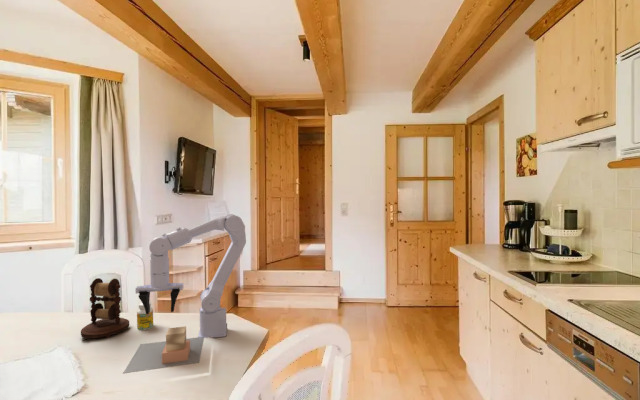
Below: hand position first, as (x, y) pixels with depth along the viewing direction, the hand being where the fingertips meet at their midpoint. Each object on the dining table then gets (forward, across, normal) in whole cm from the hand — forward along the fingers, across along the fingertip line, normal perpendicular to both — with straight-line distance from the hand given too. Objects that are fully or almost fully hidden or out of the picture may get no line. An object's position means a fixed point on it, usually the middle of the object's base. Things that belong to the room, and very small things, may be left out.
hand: (160, 312), depth 109 cm
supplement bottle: (+11, -8, +14) cm, 19 cm away
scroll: (+11, -21, +14) cm, 27 cm away
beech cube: (+7, +7, -13) cm, 16 cm away
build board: (+10, +4, -10) cm, 15 cm away
